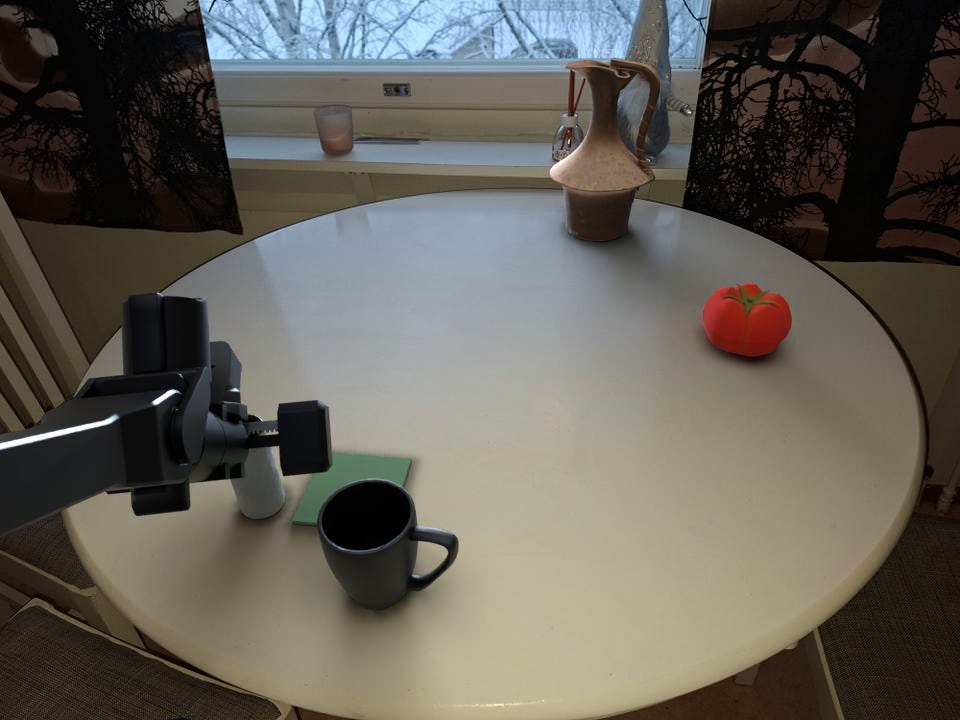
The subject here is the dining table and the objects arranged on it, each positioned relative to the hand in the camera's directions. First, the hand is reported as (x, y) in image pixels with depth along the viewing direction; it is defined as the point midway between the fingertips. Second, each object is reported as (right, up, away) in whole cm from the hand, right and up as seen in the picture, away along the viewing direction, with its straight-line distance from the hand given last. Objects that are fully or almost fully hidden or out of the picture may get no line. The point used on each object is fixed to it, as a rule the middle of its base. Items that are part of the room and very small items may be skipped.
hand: (246, 448), depth 66 cm
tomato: (+57, +11, +25) cm, 63 cm away
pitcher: (+43, +32, +54) cm, 76 cm away
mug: (+15, -12, -4) cm, 20 cm away
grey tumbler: (0, -6, +5) cm, 8 cm away
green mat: (+10, -5, +6) cm, 12 cm away
